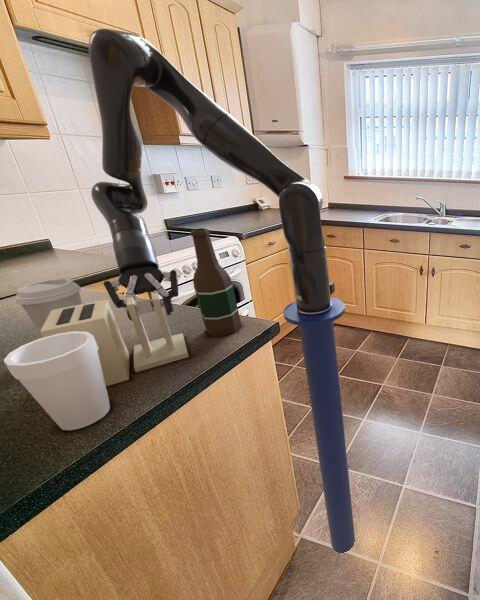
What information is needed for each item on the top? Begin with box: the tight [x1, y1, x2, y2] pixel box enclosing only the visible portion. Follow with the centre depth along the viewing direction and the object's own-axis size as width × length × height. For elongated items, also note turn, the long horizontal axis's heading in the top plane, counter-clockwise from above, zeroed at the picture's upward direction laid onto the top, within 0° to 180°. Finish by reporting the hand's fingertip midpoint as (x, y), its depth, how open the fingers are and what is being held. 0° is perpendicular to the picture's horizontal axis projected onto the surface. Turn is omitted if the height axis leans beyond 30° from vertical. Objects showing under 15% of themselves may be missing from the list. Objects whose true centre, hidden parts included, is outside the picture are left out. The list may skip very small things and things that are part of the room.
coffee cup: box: [14, 277, 84, 335], centre depth 70 cm, size 10×10×15 cm
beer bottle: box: [190, 227, 242, 337], centre depth 76 cm, size 8×8×24 cm
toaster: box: [39, 299, 131, 387], centre depth 62 cm, size 10×8×13 cm
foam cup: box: [3, 331, 111, 431], centre depth 52 cm, size 10×9×13 cm
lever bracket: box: [124, 291, 190, 373], centre depth 69 cm, size 10×9×13 cm
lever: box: [135, 298, 164, 315], centre depth 71 cm, size 13×6×2 cm, turn 35°
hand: (152, 317), depth 75 cm, fingers closed on lever, 5 cm apart
